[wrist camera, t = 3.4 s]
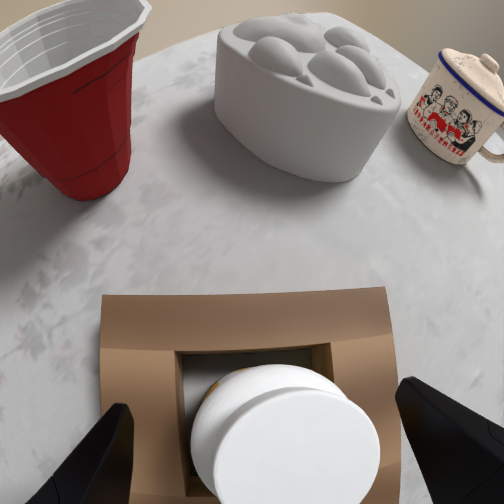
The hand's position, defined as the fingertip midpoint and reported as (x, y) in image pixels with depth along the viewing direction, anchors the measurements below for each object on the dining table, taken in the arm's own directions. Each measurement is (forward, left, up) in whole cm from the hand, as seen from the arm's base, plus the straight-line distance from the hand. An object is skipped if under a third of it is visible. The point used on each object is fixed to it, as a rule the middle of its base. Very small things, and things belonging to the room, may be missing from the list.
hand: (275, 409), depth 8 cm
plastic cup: (+5, +17, -7) cm, 19 cm away
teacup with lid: (+30, -5, -7) cm, 31 cm away
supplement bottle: (-1, -1, -7) cm, 7 cm away
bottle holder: (-2, -1, -7) cm, 7 cm away
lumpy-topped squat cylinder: (+18, +8, -7) cm, 21 cm away
